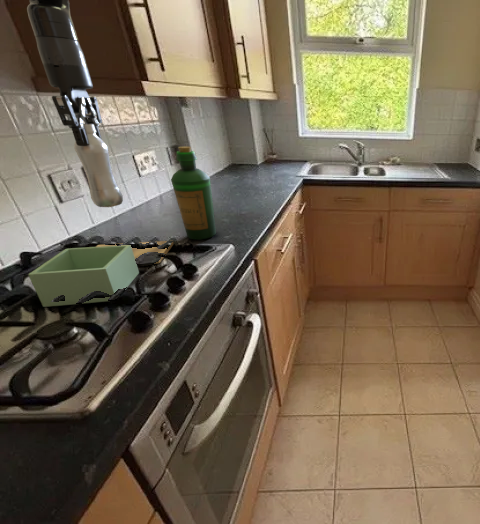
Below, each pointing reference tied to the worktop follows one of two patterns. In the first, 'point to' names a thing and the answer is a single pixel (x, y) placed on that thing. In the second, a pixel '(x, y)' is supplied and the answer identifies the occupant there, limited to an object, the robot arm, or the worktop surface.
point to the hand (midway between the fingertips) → (90, 143)
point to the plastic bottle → (98, 170)
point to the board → (147, 249)
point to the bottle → (194, 196)
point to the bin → (84, 274)
